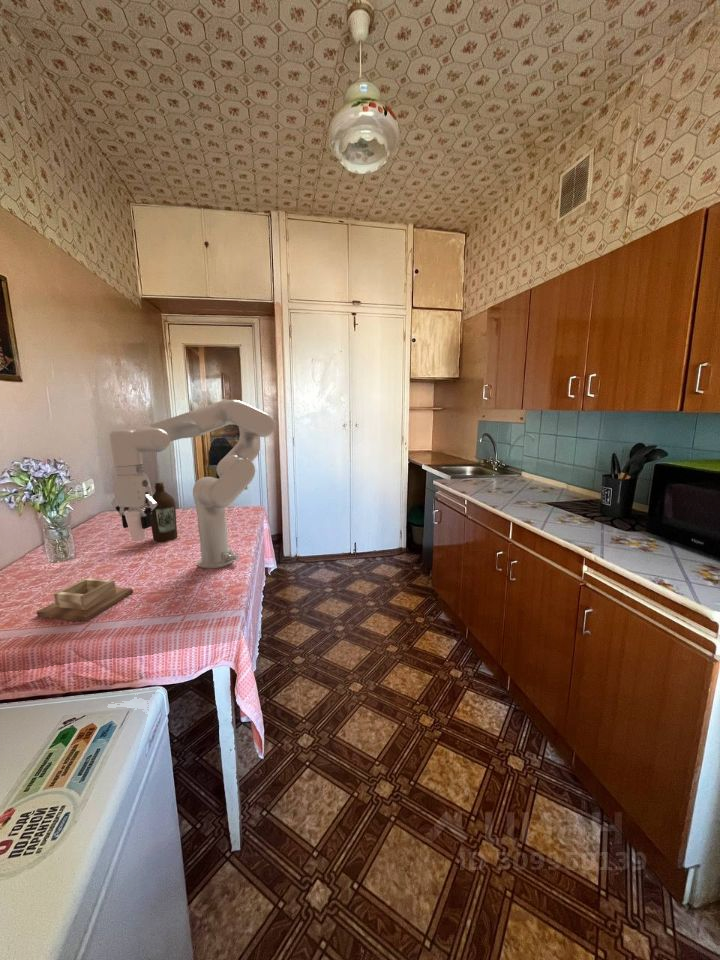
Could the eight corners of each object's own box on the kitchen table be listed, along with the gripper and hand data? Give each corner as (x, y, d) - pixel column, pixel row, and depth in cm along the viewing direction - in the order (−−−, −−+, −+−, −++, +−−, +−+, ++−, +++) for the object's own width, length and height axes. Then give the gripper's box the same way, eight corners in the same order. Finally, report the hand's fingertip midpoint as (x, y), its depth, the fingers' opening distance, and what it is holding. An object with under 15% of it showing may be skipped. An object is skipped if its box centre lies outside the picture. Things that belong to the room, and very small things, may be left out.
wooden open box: (133, 593, 115) (130, 576, 114) (86, 622, 100) (83, 603, 99) (89, 589, 119) (86, 573, 118) (37, 616, 103) (33, 598, 102)
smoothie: (134, 544, 114) (127, 499, 112) (123, 540, 118) (116, 497, 115) (154, 537, 120) (149, 494, 117) (143, 534, 123) (137, 492, 120)
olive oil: (148, 538, 165) (141, 482, 160) (174, 532, 172) (168, 479, 167) (156, 544, 157) (149, 486, 153) (182, 538, 165) (176, 482, 160)
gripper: (163, 468, 116) (169, 524, 120) (115, 468, 120) (123, 522, 123) (144, 473, 109) (152, 532, 113) (94, 472, 113) (103, 529, 116)
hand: (137, 526), depth 118 cm, fingers closed on smoothie, 6 cm apart
